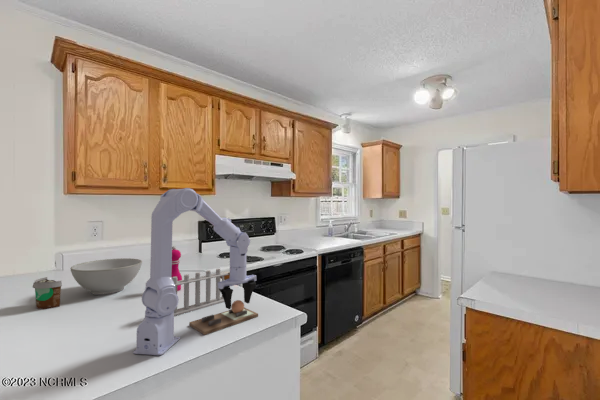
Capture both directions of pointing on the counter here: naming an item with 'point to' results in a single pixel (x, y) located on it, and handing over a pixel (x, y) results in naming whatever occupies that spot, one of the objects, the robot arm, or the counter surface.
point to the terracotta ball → (237, 306)
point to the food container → (47, 293)
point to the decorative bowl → (106, 274)
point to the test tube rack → (197, 291)
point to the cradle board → (221, 320)
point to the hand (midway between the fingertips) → (237, 305)
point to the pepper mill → (176, 265)
